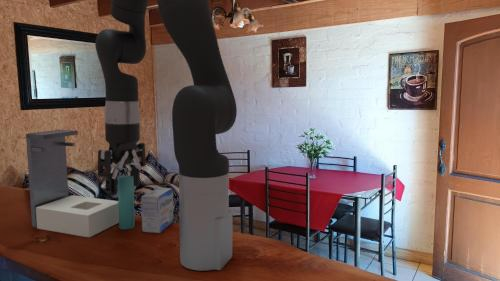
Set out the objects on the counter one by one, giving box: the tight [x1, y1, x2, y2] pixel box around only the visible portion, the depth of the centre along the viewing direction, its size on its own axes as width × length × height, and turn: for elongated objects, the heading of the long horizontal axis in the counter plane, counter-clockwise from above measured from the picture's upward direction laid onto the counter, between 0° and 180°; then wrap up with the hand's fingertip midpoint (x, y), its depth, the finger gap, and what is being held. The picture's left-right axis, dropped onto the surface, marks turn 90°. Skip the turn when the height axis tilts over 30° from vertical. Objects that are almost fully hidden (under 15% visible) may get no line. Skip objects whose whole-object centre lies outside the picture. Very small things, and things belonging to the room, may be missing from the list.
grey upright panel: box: [25, 129, 79, 228], centre depth 91 cm, size 5×10×22 cm, turn 161°
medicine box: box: [141, 187, 174, 234], centre depth 89 cm, size 8×4×9 cm, turn 168°
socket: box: [36, 194, 119, 238], centre depth 90 cm, size 15×11×5 cm
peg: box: [117, 175, 136, 230], centre depth 88 cm, size 4×4×12 cm
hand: (123, 189), depth 88 cm, fingers open, 8 cm apart
